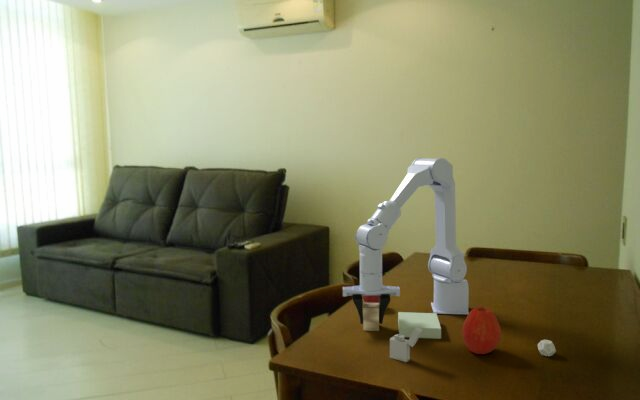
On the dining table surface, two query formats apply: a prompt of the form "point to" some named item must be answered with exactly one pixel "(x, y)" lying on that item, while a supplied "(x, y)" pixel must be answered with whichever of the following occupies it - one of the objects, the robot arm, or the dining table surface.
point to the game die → (546, 347)
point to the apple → (481, 330)
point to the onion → (371, 299)
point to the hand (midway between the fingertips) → (371, 322)
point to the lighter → (403, 345)
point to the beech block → (371, 317)
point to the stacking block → (419, 324)
